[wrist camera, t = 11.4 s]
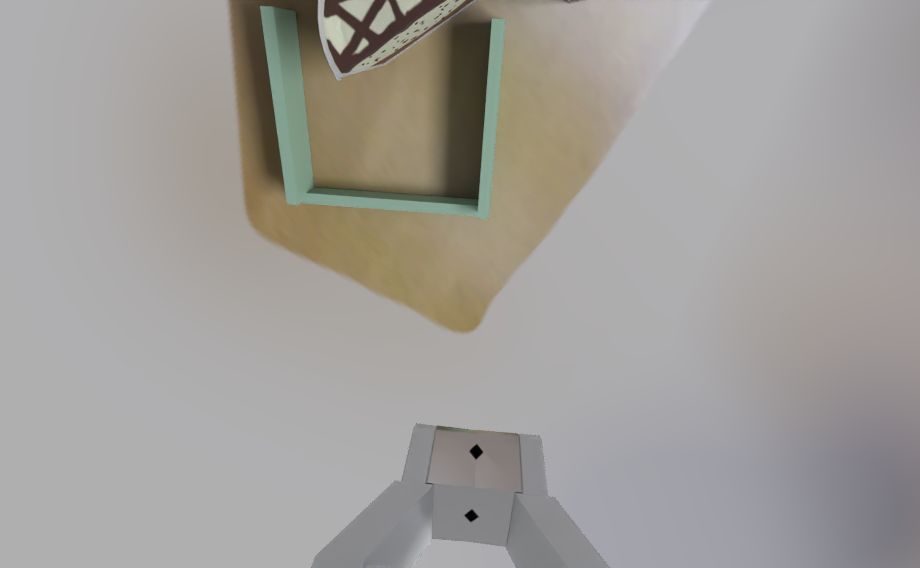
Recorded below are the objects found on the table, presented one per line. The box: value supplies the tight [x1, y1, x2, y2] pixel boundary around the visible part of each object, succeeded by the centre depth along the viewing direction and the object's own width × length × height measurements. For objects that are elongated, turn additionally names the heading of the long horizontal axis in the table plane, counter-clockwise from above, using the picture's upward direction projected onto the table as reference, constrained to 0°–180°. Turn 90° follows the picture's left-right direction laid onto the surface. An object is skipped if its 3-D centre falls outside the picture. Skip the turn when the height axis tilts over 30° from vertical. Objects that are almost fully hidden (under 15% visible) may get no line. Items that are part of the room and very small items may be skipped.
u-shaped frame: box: [260, 6, 506, 219], centre depth 37 cm, size 16×18×4 cm
